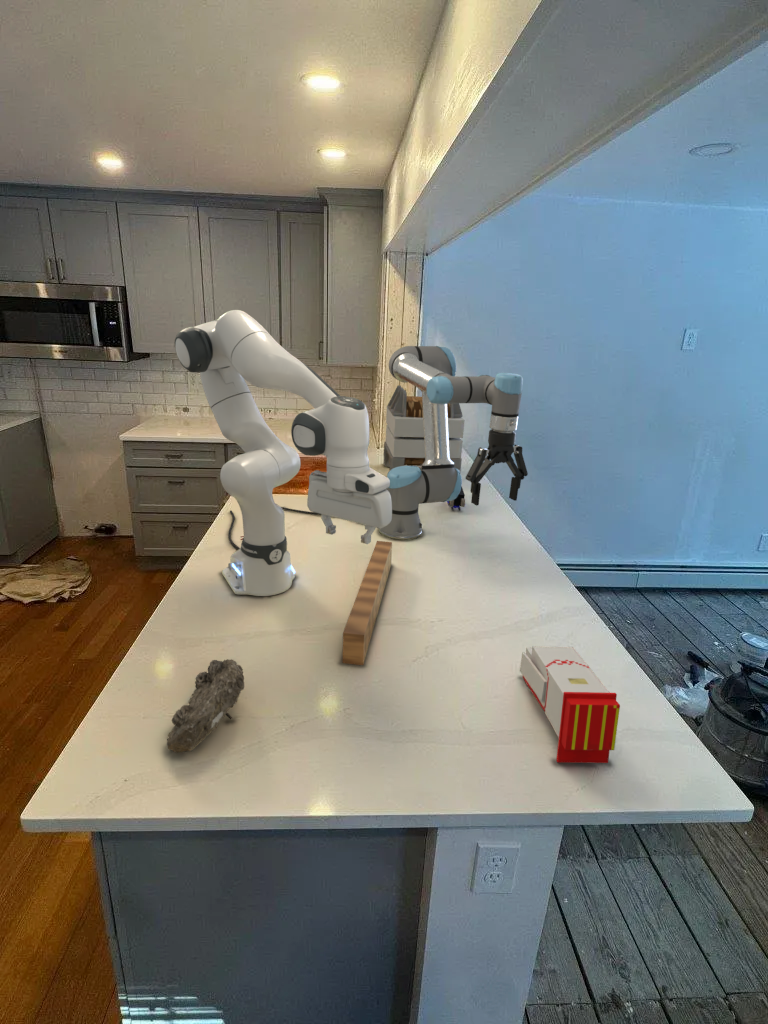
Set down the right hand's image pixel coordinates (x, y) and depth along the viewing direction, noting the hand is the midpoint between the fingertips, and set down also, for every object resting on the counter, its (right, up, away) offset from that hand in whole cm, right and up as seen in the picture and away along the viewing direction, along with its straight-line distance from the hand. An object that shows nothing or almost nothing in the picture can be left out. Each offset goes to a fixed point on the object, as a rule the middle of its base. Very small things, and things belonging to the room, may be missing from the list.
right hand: (494, 501), depth 166 cm
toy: (+2, -43, -53) cm, 68 cm away
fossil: (-65, -42, -58) cm, 97 cm away
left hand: (-40, -9, -43) cm, 60 cm away
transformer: (-15, +16, +109) cm, 111 cm away
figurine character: (-4, -1, +64) cm, 64 cm away
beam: (-36, -28, -16) cm, 48 cm away
